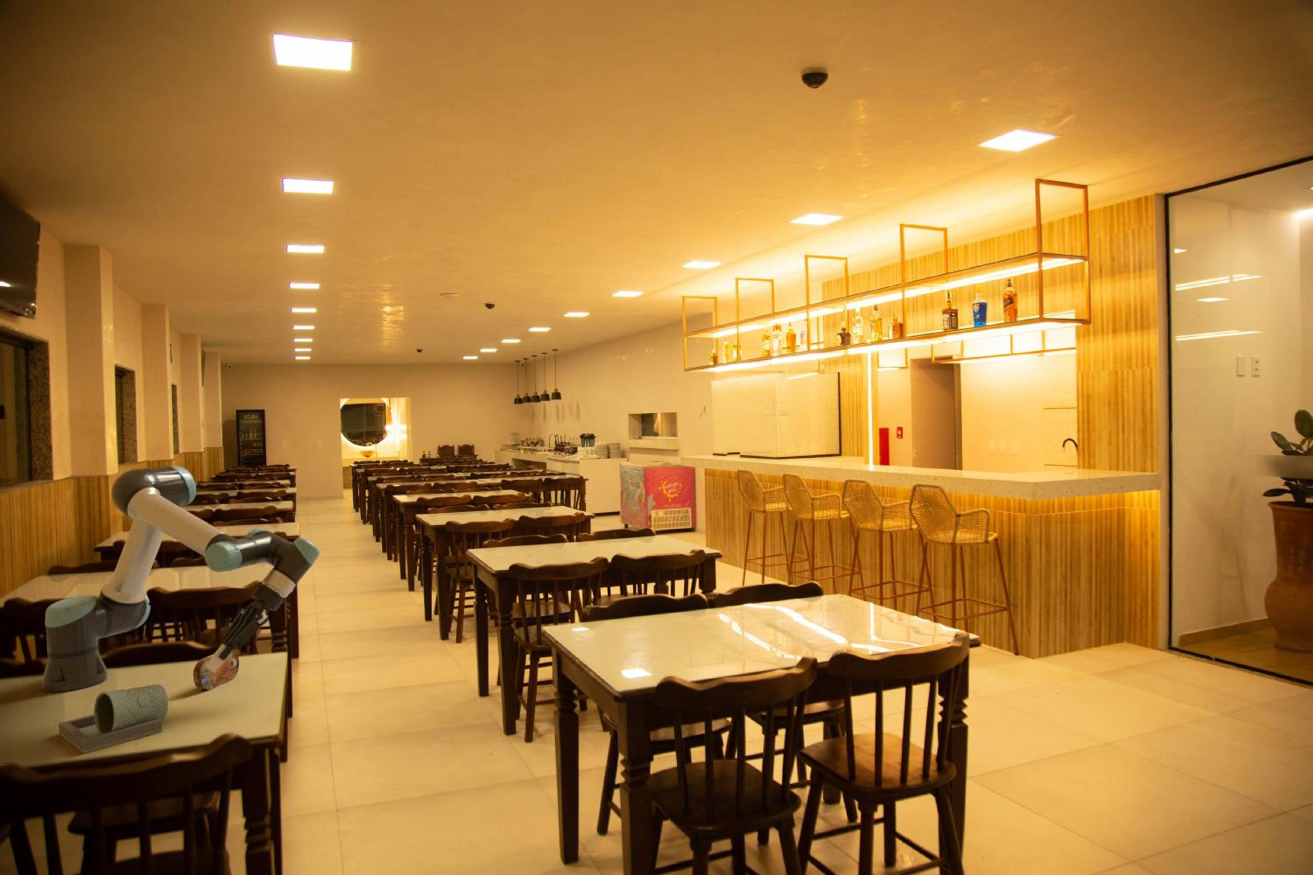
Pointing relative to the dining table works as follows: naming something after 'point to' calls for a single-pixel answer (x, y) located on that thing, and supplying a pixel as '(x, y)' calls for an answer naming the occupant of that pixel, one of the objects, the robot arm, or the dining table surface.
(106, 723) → the green embossed cup
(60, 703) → the dining table surface
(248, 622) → the robot arm
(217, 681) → the tin
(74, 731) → the shallow rectangular tray
